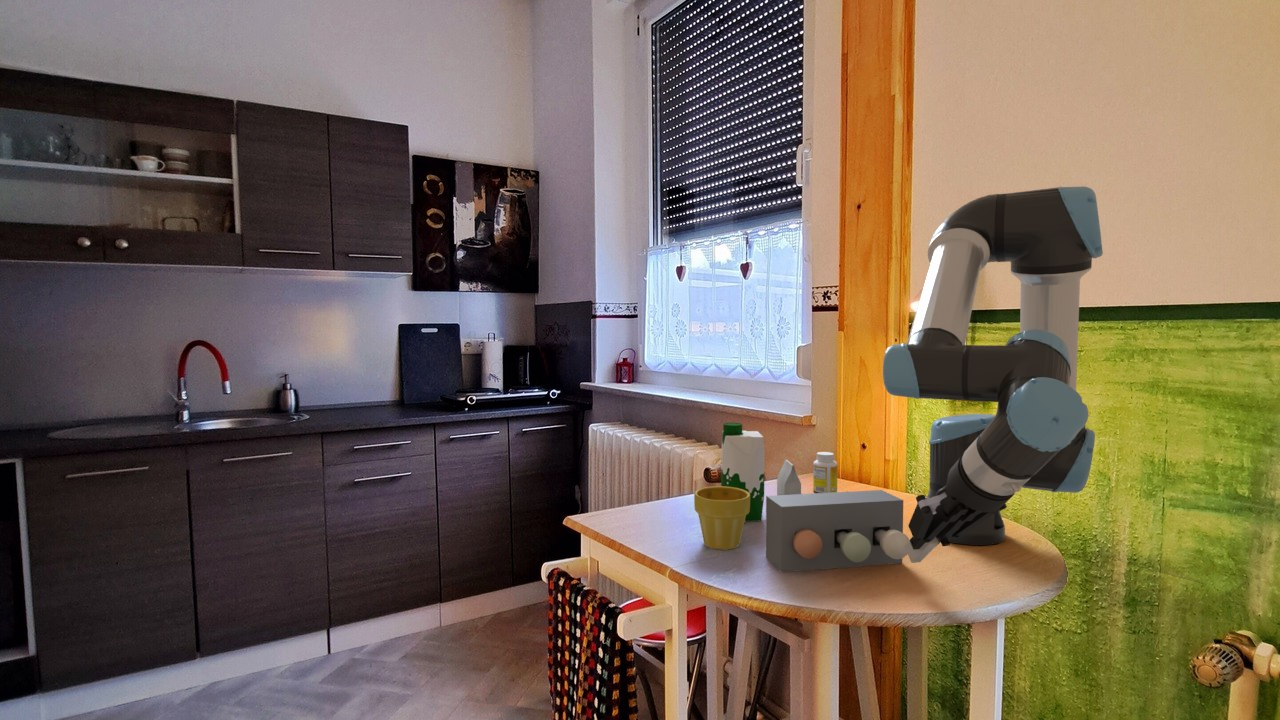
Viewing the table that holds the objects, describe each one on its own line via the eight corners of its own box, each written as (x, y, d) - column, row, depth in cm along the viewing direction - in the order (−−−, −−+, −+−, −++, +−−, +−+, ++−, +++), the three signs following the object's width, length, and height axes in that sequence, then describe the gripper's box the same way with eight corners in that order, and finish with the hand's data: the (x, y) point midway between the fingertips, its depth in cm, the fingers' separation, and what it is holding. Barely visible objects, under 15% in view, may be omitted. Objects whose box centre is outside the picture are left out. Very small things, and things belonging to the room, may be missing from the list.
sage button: (853, 549, 111) (853, 523, 110) (870, 561, 105) (871, 534, 105) (828, 550, 110) (829, 525, 110) (845, 563, 104) (845, 536, 104)
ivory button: (890, 546, 112) (891, 521, 111) (910, 558, 106) (910, 531, 106) (867, 548, 111) (867, 522, 111) (885, 560, 105) (885, 533, 105)
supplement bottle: (834, 492, 159) (835, 451, 158) (839, 498, 153) (839, 455, 153) (811, 492, 159) (811, 450, 159) (815, 498, 154) (815, 455, 153)
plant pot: (747, 555, 115) (748, 501, 115) (690, 551, 118) (690, 498, 117) (751, 537, 126) (751, 487, 125) (698, 533, 128) (698, 484, 127)
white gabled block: (784, 510, 144) (784, 465, 143) (777, 502, 150) (777, 459, 150) (800, 510, 144) (801, 465, 143) (792, 502, 151) (793, 459, 150)
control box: (880, 549, 118) (881, 490, 118) (902, 563, 111) (903, 500, 111) (765, 557, 115) (766, 495, 114) (781, 572, 108) (781, 506, 107)
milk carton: (719, 510, 144) (719, 421, 143) (760, 510, 143) (760, 421, 142) (723, 522, 135) (723, 427, 134) (767, 522, 135) (767, 427, 134)
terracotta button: (807, 545, 112) (807, 520, 112) (822, 557, 106) (822, 531, 106) (783, 547, 111) (783, 522, 111) (796, 559, 106) (797, 533, 106)
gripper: (956, 501, 81) (882, 580, 98) (1048, 496, 83) (960, 574, 100) (931, 450, 85) (865, 534, 103) (1019, 447, 88) (939, 529, 105)
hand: (912, 554), depth 101 cm, fingers closed
